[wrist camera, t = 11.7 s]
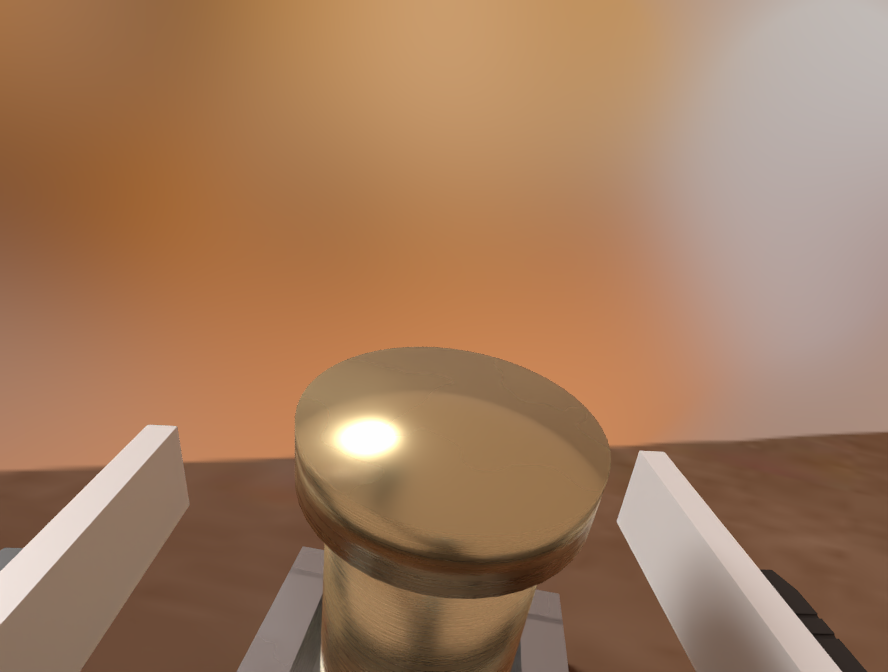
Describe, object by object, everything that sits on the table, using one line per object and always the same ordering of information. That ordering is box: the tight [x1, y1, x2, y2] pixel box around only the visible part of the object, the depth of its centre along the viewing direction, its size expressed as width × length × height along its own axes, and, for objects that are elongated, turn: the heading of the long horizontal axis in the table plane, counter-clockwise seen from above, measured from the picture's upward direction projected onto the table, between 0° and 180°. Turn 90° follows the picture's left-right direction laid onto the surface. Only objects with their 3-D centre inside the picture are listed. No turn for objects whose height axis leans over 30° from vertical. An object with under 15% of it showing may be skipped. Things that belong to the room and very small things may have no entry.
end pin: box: [295, 347, 611, 672], centre depth 11 cm, size 6×6×13 cm
